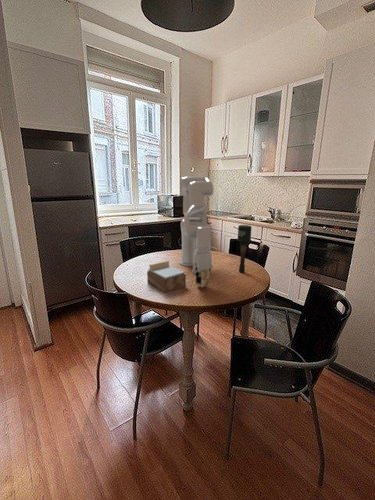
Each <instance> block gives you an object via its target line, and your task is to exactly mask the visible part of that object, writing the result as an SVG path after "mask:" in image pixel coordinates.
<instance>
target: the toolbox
mask: <svg viewBox="0 0 375 500" xmlns="http://www.w3.org/2000/svg"><path fill="white" fill-rule="evenodd" d="M146 273H147V274H146V277H147V284H149V285H151V286H152V287H153V288H156V289H157V290H159V291H161V292H162V293H164V294H166V293H169V292H172V291H174V290H178V289H181V288H183V287H186V282H187V281H186V279H187V278H186V277H187V276H186V275H187V274H186V273H184V274H182V275H179V276H175V277H172V278H168V279H164V278H162V277H160V276H158V275H156V274H154V273H152V272H150V271H148V270H147V272H146Z"/></svg>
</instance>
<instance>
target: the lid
mask: <svg viewBox="0 0 375 500" xmlns="http://www.w3.org/2000/svg"><path fill="white" fill-rule="evenodd" d="M147 271H150V272H152V273H154V274H156V275H158V276H160V277H162V278H164V279H168V278H172V277H175V276H179V275H182V274H185V271H183V270H182V269H178V268H176V267H173V266H171V265H170V261H169V260H168V259H166V260H161V261H157V262H153V263H149V268H148V270H147Z"/></svg>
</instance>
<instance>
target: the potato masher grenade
mask: <svg viewBox="0 0 375 500" xmlns="http://www.w3.org/2000/svg"><path fill="white" fill-rule="evenodd" d="M252 229H253V228H252V226H251V225H249V224H240V225H238V229H237V238H236V241H238V242H240V259H239V261H240V262H239V265H238V268H239V269H238V271H239V273H240V274H243V273H245V266H246V265H245V263H246V262H245V260H246V259H245V258H246V250H247V243H249V242H251V241H252Z"/></svg>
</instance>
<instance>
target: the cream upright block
mask: <svg viewBox="0 0 375 500" xmlns="http://www.w3.org/2000/svg"><path fill="white" fill-rule="evenodd" d="M198 274H199V272H198ZM200 277H201V284H199V283H196V282H195V285H196V286H198V287H200V288H205V287H207V286H209V285H210V284H209V283H210V273H209V269H208V270H204V271H201V275H200Z"/></svg>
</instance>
